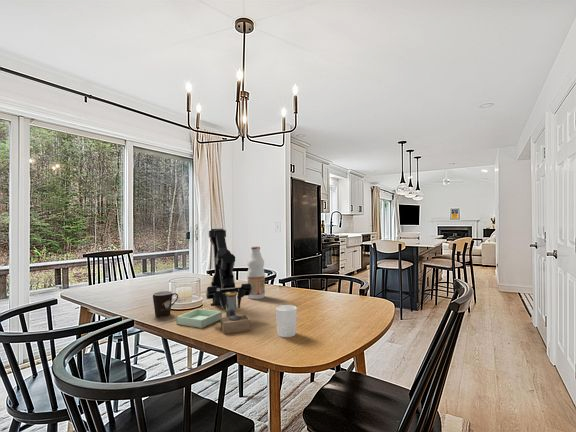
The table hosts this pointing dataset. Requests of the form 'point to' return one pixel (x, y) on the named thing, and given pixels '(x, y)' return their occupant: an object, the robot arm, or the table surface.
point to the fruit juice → (256, 274)
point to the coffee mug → (163, 303)
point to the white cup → (286, 320)
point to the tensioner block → (234, 324)
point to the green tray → (199, 318)
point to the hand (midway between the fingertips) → (231, 308)
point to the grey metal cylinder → (230, 303)
